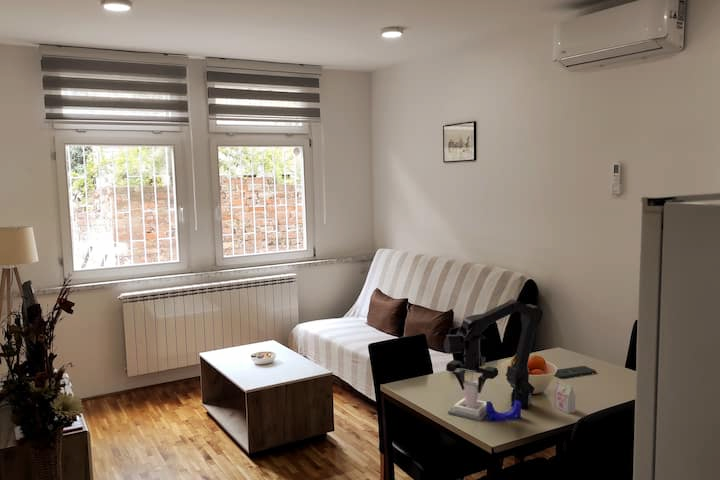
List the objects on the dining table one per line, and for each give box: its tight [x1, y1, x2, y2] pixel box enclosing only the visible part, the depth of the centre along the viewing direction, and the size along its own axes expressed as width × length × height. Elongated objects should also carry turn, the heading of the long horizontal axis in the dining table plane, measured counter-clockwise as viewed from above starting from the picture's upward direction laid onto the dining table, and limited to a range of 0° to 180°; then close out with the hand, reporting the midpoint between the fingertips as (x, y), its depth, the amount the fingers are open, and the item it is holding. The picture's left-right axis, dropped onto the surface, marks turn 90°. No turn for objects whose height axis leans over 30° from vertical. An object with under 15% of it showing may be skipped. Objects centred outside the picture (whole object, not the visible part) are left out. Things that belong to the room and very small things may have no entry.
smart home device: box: [554, 365, 597, 380], centre depth 267 cm, size 8×2×20 cm
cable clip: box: [485, 400, 522, 423], centre depth 217 cm, size 12×4×6 cm, turn 94°
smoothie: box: [463, 371, 479, 409], centre depth 223 cm, size 6×6×14 cm
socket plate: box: [447, 396, 495, 422], centre depth 224 cm, size 13×13×3 cm
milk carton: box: [553, 381, 576, 414], centre depth 225 cm, size 4×7×10 cm, turn 26°
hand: (471, 391), depth 223 cm, fingers closed on smoothie, 6 cm apart
